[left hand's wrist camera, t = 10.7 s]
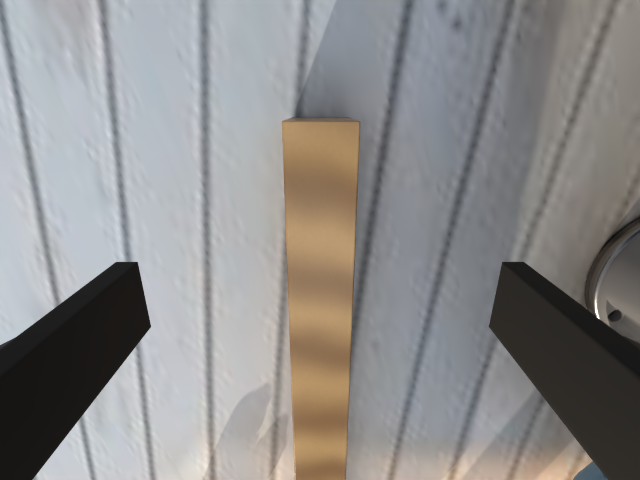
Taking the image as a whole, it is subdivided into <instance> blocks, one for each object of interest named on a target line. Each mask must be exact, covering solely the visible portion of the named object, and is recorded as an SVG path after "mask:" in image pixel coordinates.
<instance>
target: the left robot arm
mask: <svg viewBox="0 0 640 480" xmlns="http://www.w3.org/2000/svg"><path fill="white" fill-rule="evenodd" d="M585 301H586V306H587V309H588V310H587V309H586V308H584V307H583V306H582V305H580V304H579V303H578V302H576V301H575V300H574V299H572V298H571V297H570V296H568V295H567V294H566V293H564V292H563V291H562V290H560V289H559V288H558V287H556V286H555V285H554V284H552V283H551V282H550V281H548V280H547V279H546V278H544V277H543V276H542V275H540V274H539V273H538V272H536V271H535V270H534V269H532V268H531V267H530V266H528V265H527V264H526V263H524V262H502V267H501V271H500V276H499V281H498V286H497V291H496V296H495V300H494V305H493V310H492V315H491V320H490V325H489V327H490V329H491V330H492V331H493V333H494V334H495V335H496V336H497V338H498V339H499V340H500V342H501V343H502V344H503V345H504V347H505V348H506V349H507V351H508V352H509V353H510V354H511V356H512V357H513V358H514V360H515V361H516V362H517V363H518V365H519V366H520V367H521V369H522V370H523V371H524V372H525V374H526V375H527V376H528V378H529V379H530V380H531V382H532V383H533V384H534V385H535V387H536V388H537V389H538V391H539V392H540V393H541V394H542V396H543V397H544V398H545V400H546V401H547V402H548V403H549V405H550V406H551V407H552V409H553V410H554V411H555V412H556V414H557V415H558V416H559V418H560V419H561V420H562V421H563V423H564V424H565V425H566V427H567V428H568V429H569V430H570V432H571V433H572V434H573V436H574V437H575V438H576V440H577V441H578V442H579V443H580V445H581V446H582V447H583V449H584V450H585V451H586V452H587V454H588V455H589V456H590V458H591V459H592V460H593V462H591V463H590V464H589V465H588V466H586V467H585V468H584V469H583V470H581V471H580V472H579V473H578V474H577V475H576V476H575V477H574V479H573V480H640V218H639V219H637V220H636V221H634V222H633V223H631V224H629V225H628V226H627V227H625V228H624V229H623V230H621V231H620V232H619V233H618V234H617V235H616V236H614V237H613V238H612V239H611V240H610V241H609V242H608V244H607V245H606V246H605V247H604V248H603V250H602V251H601V252H600V254H599V255H598V257H597V258H596V260H595V262H594V263H593V265H592V267H591V270H590V272H589V275H588V278H587V282H586V288H585ZM150 327H151V325H150V320H149V315H148V310H147V305H146V300H145V296H144V291H143V286H142V281H141V276H140V271H139V267H138V262H116V263H114V264H113V265H112V266H110V267H109V268H108V269H106V270H105V271H104V272H102V273H101V274H100V275H98V276H97V277H96V278H94V279H93V280H92V281H90V282H89V283H88V284H86V285H85V286H84V287H82V288H81V289H80V290H78V291H77V292H76V293H74V294H73V295H72V296H70V297H69V298H68V299H66V300H65V301H64V302H62V303H61V304H60V305H58V306H57V307H56V308H54V309H53V310H52V311H50V312H49V313H48V314H46V315H45V316H44V317H42V318H41V319H40V320H38V321H37V322H36V323H34V324H33V325H32V326H30V327H29V328H28V329H26V330H25V331H24V332H23V333H21V334H20V335H19V336H17V337H16V338H14V339H12V340H10V341H8V342H6V343H4V344H2V345H0V480H32V479H33V478H34V477H35V476H36V474H37V473H38V472H39V470H40V469H41V468H42V467H43V465H44V464H45V463H46V461H47V460H48V459H49V458H50V456H51V455H52V454H53V452H54V451H55V450H56V449H57V447H58V446H59V445H60V443H61V442H62V441H63V440H64V438H65V437H66V436H67V434H68V433H69V432H70V430H71V429H72V428H73V427H74V425H75V424H76V423H77V421H78V420H79V419H80V418H81V416H82V415H83V414H84V412H85V411H86V410H87V409H88V407H89V406H90V405H91V403H92V402H93V401H94V400H95V398H96V397H97V396H98V394H99V393H100V392H101V391H102V389H103V388H104V387H105V385H106V384H107V383H108V382H109V380H110V379H111V378H112V376H113V375H114V374H115V372H116V371H117V370H118V369H119V367H120V366H121V365H122V363H123V362H124V361H125V360H126V358H127V357H128V356H129V354H130V353H131V352H132V351H133V349H134V348H135V347H136V345H137V344H138V343H139V342H140V340H141V339H142V338H143V336H144V335H145V334H146V333H147V331H148V330H149V329H150Z"/></svg>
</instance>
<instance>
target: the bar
mask: <svg viewBox="0 0 640 480" xmlns="http://www.w3.org/2000/svg"><path fill="white" fill-rule="evenodd" d="M282 135H283V163H284V191H285V219H286V246H287V274H288V302H289V329H290V357H291V385H292V413H293V440H294V468H295V480H346V458H347V434H348V409H349V385H350V360H351V335H352V311H353V286H354V262H355V237H356V212H357V188H358V163H359V139H360V121H358V120H355V119H351V118H290V119H287V120H284V121H282Z"/></svg>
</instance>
